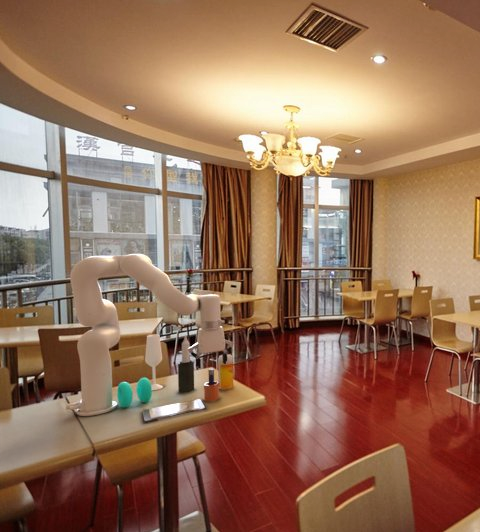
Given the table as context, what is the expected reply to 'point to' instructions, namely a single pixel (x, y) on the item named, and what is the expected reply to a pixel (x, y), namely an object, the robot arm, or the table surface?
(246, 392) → the table surface
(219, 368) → the beer glass
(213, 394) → the pen cup
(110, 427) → the table surface
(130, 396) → the pair of turquoise ovals
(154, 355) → the champagne flute
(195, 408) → the tablet
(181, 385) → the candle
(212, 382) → the marker
